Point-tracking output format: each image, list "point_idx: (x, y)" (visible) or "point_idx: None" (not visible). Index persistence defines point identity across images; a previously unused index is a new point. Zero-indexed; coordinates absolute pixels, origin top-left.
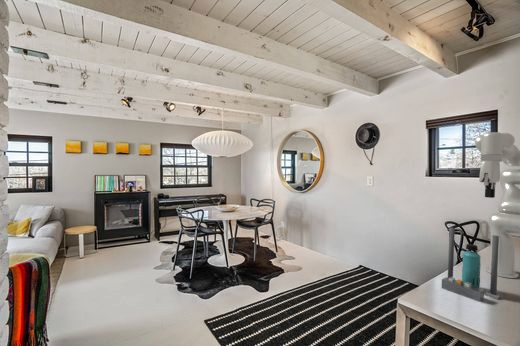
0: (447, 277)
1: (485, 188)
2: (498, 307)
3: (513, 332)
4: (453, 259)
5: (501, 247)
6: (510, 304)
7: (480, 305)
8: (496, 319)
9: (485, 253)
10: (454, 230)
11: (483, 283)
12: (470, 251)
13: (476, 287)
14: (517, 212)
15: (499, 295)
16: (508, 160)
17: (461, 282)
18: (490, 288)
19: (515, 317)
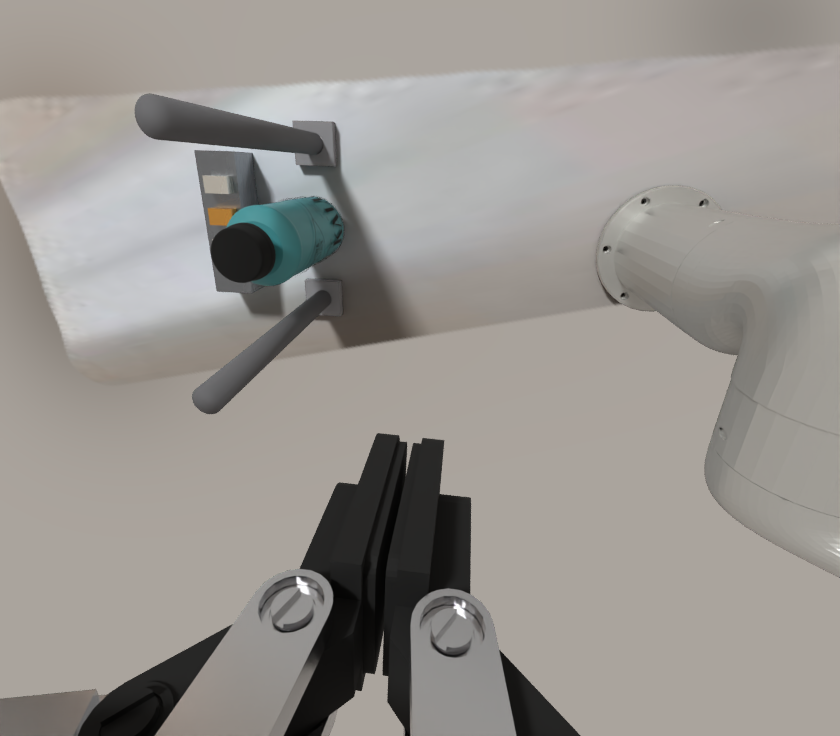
0: (331, 122)
1: (268, 586)
2: (250, 327)
3: (140, 378)
4: (277, 150)
5: (665, 289)
6: (309, 343)
7: (210, 291)
8: (166, 340)
9: None
10: (171, 140)
11: (432, 238)
12: (271, 238)
13: None
14: None
15: (329, 314)
16: None
17: (219, 224)
18: (311, 296)
19: None
